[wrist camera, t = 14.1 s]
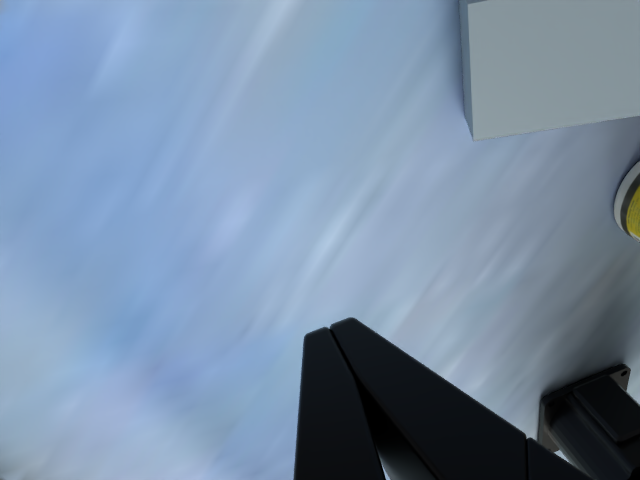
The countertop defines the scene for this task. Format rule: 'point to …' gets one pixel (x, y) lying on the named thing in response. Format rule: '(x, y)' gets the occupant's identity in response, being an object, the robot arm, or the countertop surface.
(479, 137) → the block
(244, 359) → the countertop surface
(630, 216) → the supplement bottle
